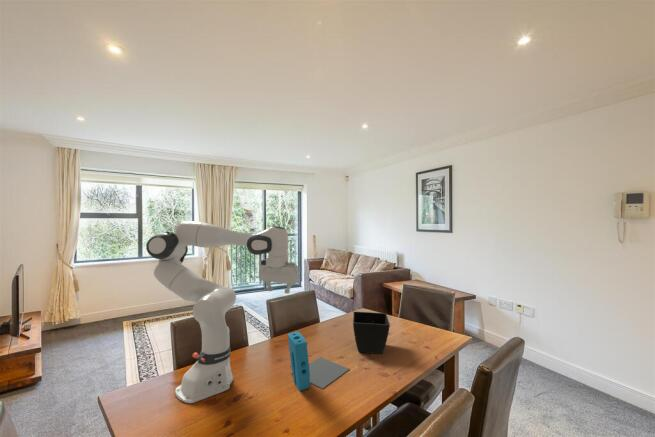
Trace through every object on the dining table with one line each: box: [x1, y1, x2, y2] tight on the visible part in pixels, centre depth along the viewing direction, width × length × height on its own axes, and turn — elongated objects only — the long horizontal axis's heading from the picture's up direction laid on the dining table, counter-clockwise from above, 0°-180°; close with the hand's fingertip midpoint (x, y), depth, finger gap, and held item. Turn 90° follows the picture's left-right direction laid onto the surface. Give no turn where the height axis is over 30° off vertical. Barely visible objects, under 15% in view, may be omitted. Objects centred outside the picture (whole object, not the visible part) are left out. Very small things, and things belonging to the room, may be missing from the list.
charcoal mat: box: [291, 356, 351, 390], centre depth 131 cm, size 20×18×1 cm
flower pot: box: [352, 311, 391, 355], centre depth 157 cm, size 19×19×17 cm
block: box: [287, 331, 311, 392], centre depth 121 cm, size 12×5×20 cm, turn 23°
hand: (278, 292), depth 130 cm, fingers open, 8 cm apart
